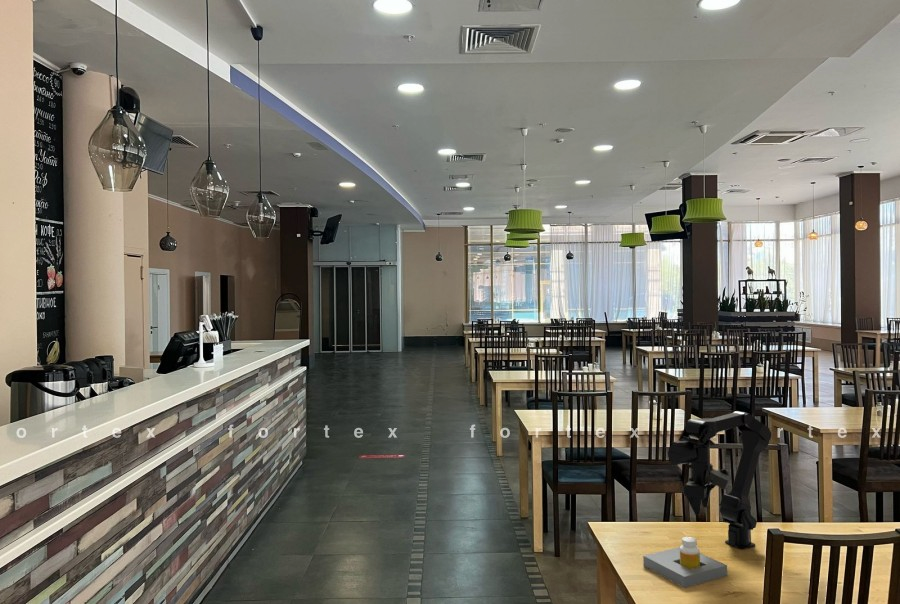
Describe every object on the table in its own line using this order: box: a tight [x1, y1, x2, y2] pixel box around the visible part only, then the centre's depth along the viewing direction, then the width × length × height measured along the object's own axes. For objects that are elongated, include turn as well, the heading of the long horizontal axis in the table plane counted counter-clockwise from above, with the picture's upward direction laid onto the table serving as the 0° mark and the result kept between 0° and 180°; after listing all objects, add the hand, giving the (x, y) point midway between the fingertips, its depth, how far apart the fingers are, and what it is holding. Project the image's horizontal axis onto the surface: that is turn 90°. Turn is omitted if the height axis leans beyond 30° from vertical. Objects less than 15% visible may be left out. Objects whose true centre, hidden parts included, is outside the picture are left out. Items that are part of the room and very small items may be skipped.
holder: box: [642, 546, 728, 589], centre depth 177 cm, size 16×16×3 cm
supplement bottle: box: [679, 536, 701, 569], centre depth 175 cm, size 5×5×10 cm
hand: (701, 511), depth 189 cm, fingers open, 9 cm apart
